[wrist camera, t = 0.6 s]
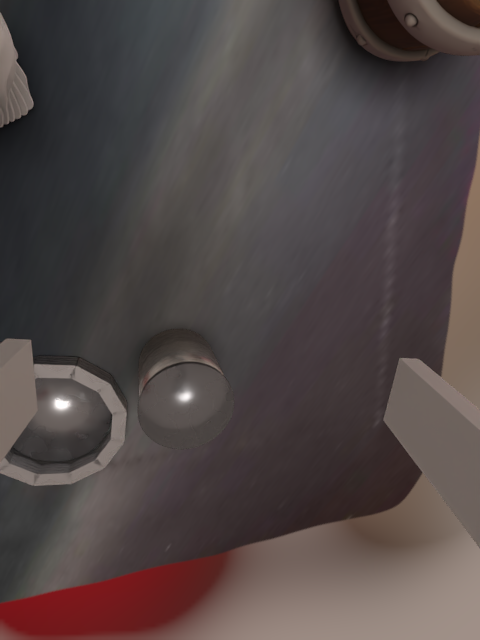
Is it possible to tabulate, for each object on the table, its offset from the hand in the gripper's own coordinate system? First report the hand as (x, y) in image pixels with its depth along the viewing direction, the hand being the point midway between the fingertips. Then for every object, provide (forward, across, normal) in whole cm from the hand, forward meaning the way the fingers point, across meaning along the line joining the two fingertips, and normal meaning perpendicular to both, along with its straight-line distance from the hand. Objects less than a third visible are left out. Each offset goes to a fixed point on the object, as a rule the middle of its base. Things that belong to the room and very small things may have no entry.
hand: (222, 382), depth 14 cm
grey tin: (+21, -2, -10) cm, 23 cm away
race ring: (+19, -13, -15) cm, 27 cm away
